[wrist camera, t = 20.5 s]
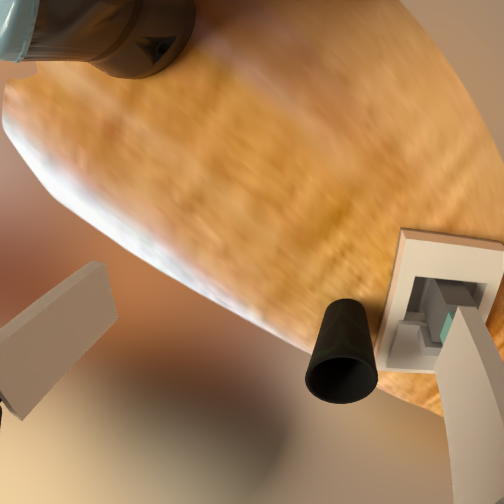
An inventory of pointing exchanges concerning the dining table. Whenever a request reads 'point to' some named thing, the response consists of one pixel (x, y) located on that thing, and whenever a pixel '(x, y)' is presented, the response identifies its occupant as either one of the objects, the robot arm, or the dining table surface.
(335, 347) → the cup
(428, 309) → the plug
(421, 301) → the socket board
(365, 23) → the dining table surface
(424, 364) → the panel
